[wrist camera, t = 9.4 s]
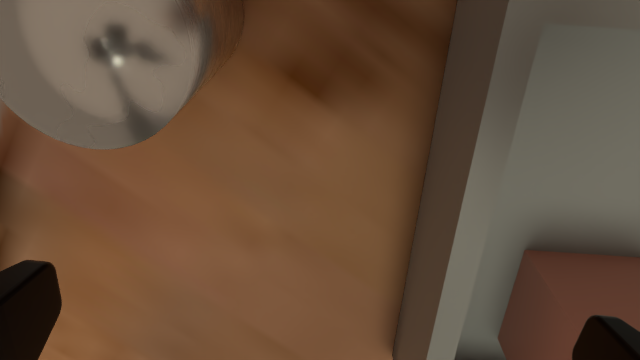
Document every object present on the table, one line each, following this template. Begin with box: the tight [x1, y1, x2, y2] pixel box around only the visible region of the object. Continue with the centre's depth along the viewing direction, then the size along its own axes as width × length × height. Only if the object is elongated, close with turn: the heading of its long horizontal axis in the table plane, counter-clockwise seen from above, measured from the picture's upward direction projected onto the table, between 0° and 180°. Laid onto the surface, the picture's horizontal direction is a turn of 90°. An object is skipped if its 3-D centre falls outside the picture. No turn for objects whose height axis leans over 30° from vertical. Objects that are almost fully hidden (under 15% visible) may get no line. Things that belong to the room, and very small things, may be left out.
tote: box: [392, 0, 640, 360], centre depth 18 cm, size 18×14×5 cm
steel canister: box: [0, 0, 244, 149], centre depth 14 cm, size 5×5×7 cm
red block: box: [497, 250, 640, 360], centre depth 19 cm, size 5×5×5 cm
